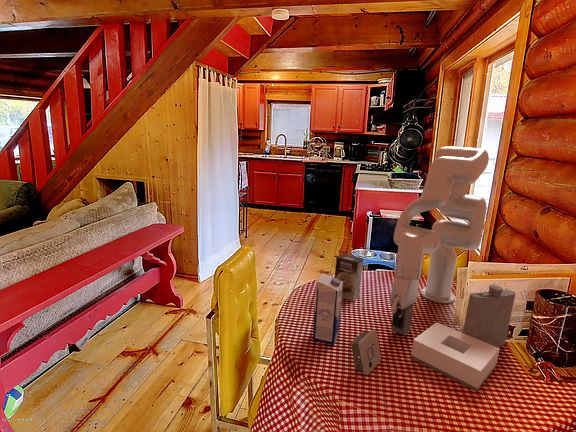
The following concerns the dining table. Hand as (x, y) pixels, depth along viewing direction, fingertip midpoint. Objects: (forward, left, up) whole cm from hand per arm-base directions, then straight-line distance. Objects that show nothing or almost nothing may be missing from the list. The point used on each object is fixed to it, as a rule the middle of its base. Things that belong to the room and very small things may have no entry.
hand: (401, 323), depth 115 cm
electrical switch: (+23, +2, -4) cm, 23 cm away
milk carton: (+21, -14, -4) cm, 25 cm away
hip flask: (-14, +21, -4) cm, 26 cm away
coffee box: (-8, -28, -4) cm, 29 cm away
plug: (0, 0, -3) cm, 3 cm away
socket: (+2, +18, -3) cm, 18 cm away
